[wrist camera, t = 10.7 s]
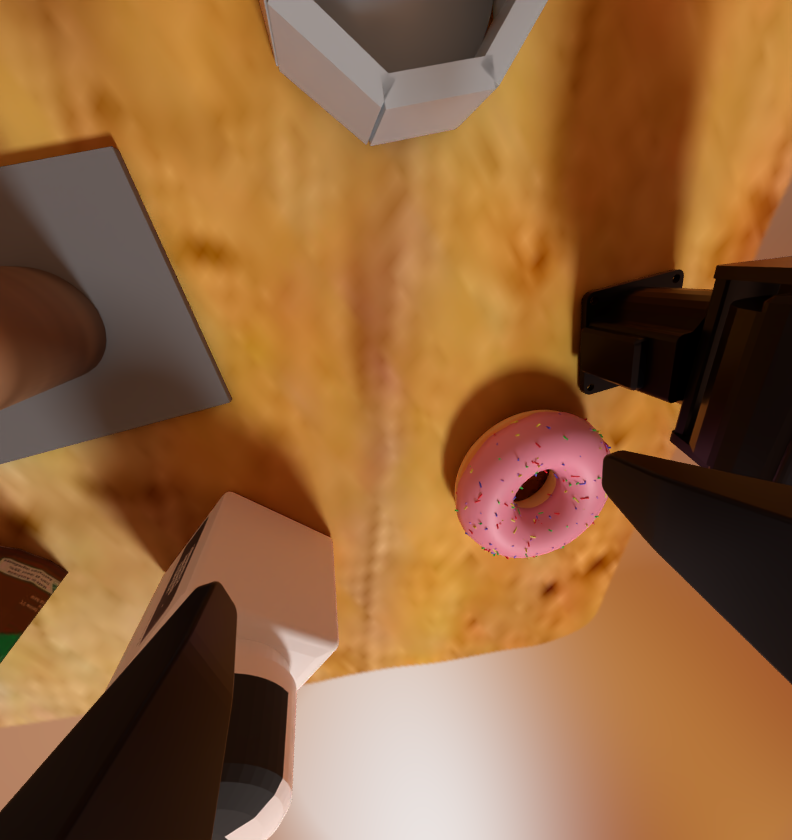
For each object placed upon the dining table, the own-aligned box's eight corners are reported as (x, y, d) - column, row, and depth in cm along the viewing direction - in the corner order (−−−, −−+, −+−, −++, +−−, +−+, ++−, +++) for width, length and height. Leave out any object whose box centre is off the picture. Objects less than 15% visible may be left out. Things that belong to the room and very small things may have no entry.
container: (162, 574, 22) (-13, 921, 10) (228, 486, 20) (110, 773, 9) (271, 610, 25) (232, 909, 13) (334, 536, 24) (353, 798, 12)
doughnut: (466, 392, 22) (497, 417, 18) (607, 407, 24) (660, 432, 21) (430, 531, 25) (450, 576, 22) (555, 530, 28) (592, 570, 25)
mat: (118, 150, 14) (112, 146, 13) (231, 399, 18) (229, 402, 18) (-225, 214, 12) (-245, 212, 12) (-9, 463, 17) (-17, 468, 17)
